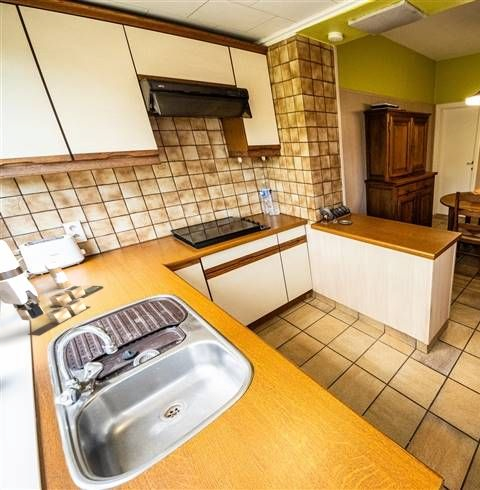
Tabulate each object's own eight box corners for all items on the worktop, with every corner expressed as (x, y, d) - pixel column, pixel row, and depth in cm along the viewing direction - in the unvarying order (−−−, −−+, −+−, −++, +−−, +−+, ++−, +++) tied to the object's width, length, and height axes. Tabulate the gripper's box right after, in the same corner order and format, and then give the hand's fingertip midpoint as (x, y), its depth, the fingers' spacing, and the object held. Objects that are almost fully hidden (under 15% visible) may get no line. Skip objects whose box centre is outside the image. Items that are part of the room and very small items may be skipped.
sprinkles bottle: (56, 288, 135) (42, 265, 130) (68, 283, 139) (54, 261, 133) (61, 289, 133) (47, 266, 128) (73, 285, 137) (59, 262, 132)
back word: (60, 310, 117) (54, 299, 115) (49, 309, 118) (43, 299, 116) (103, 287, 133) (98, 278, 131) (94, 287, 134) (88, 278, 132)
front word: (40, 337, 101) (32, 326, 99) (28, 336, 102) (20, 325, 100) (92, 308, 117) (86, 298, 115) (81, 307, 118) (75, 297, 116)
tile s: (31, 320, 99) (24, 311, 97) (22, 319, 100) (15, 310, 98) (45, 313, 103) (39, 304, 101) (36, 313, 104) (30, 303, 102)
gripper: (-28, 277, 92) (2, 320, 99) (9, 280, 89) (37, 324, 96) (2, 267, 99) (29, 308, 106) (38, 270, 96) (62, 311, 103)
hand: (32, 315), depth 101 cm, fingers closed on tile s, 4 cm apart
